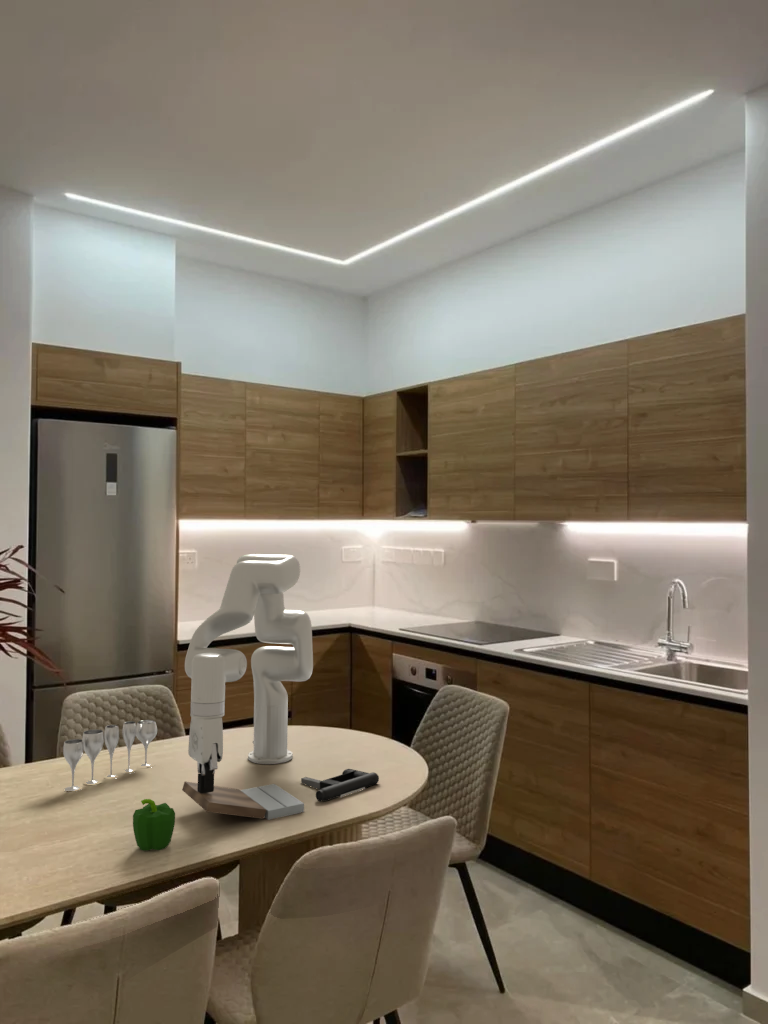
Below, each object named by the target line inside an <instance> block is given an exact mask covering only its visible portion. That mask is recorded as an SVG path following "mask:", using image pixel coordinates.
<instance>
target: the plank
mask: <svg viewBox="0 0 768 1024" xmlns="http://www.w3.org/2000/svg"><path fill="white" fill-rule="evenodd" d="M240 790H241V789H239V788H232V787H227V786H219V785H214V791H213V792H208V793H202V794H201V793H200V792H198V782H192V781H184V782H183V785H182V792H184V794H186V795H187V796H188V797H189V798H190V799H191V800H193V801H194V802H195V803H197V804H198V805H199V806H200V807H201V808H202V809H203V810H204V811H205V812H206V813H207V812H208V813H214V814H215V813H216V814H221V815H223V814H224V815H230V816H231V815H232V816H239V817H246V818H247V817H248V818H253V819H265V817H264V816H265V813H266V809H265V808H263V807H262V806H261V805H259V804H258V803H257V802H255V801H254V800H253V799H251V798H250V797H248V796H247V795H246V794H244V793H243V792H242V791H240Z"/></svg>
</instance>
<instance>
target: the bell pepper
mask: <svg viewBox="0 0 768 1024" xmlns="http://www.w3.org/2000/svg"><path fill="white" fill-rule="evenodd" d="M140 802H141V804H142V806H143V807H142V808H138V809H135V810H134V812H133V814H132V828H133V829H132V830H133V834H134V838H135V842H136V845H137V848H139V850H141V851H143V852H144V851H151V850H155V851H161V850H163V849H166V848H167V847H168V846H169V845H170V844H171V841H172V837H173V834H174V829H175V825H176V824H175V823H176V812H175V809H174V808H173V807H170V806H169V805H168V803H167V802H163V803H159V804H156V802H155V801H154V800H153V799H151V798H144V799H142V800H141V801H140ZM144 805H145V806H144Z"/></svg>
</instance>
